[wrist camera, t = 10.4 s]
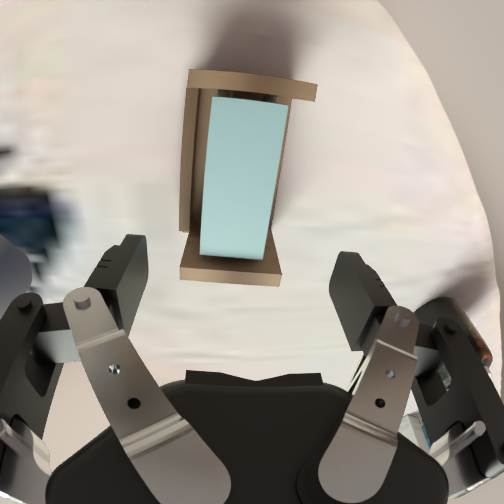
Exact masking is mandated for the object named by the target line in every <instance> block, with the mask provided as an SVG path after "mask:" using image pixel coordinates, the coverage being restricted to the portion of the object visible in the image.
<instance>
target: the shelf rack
mask: <svg viewBox="0 0 504 504" xmlns="http://www.w3.org/2000/svg"><path fill="white" fill-rule="evenodd" d="M317 85H318V84H313V83H308V82H303V81H298V80H292V79H286V78H280V77H273V76H266V75H258V74H250V73H240V72H229V71H215V70H193V69H189V75H188V85H187V87H189V88H186V99H185V110H184V123H183V137H182V153H181V173H180V203H179V231H182V232H185V233H189V235H188V238H187V242H186V246H185V249H184V253H183V257H182V260H181V264H180V280H190V281H203V282H216V283H230V284H244V285H260V286H276V287H279V286H280V281H281V276H282V273H281V269H280V265H279V260H278V256H277V252H276V248H275V244H274V239H273V235H272V231H271V225H272V219H273V214H274V208H275V202H276V195H277V189H278V183H279V177H280V171H281V165H282V159H283V152H284V146H285V140H286V133H287V127H288V120H289V114H290V107H291V101H292V98H294V99H301V100H307V101H313V102H315V98H316V91H317ZM212 96H226V97H236V98H246V99H254V100H262V101H269V102H276V103H281V104H285V105H288V112H287V118H286V124H285V131H284V137H283V143H282V149H281V155H280V161H279V167H278V173H277V179H276V185H275V191H274V197H273V202H272V208H271V214H270V220H269V226H268V231H267V237H266V243H265V249H264V254H263V260H258V259H246V258H234V257H222V256H210V255H200V237H201V219H202V203H203V189H204V176H205V164H206V153H207V142H208V132H209V122H210V113H211V104H212Z"/></svg>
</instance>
